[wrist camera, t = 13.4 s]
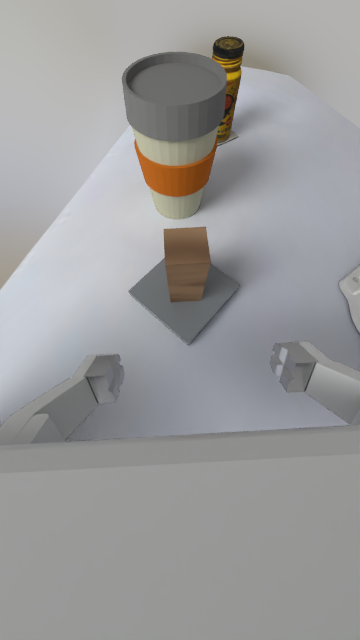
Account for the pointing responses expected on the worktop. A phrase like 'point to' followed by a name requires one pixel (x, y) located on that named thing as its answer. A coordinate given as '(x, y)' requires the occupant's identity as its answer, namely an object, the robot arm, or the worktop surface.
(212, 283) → the slate coaster
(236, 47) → the condiment
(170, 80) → the reusable coffee cup
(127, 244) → the worktop surface
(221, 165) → the worktop surface
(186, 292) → the walnut block
